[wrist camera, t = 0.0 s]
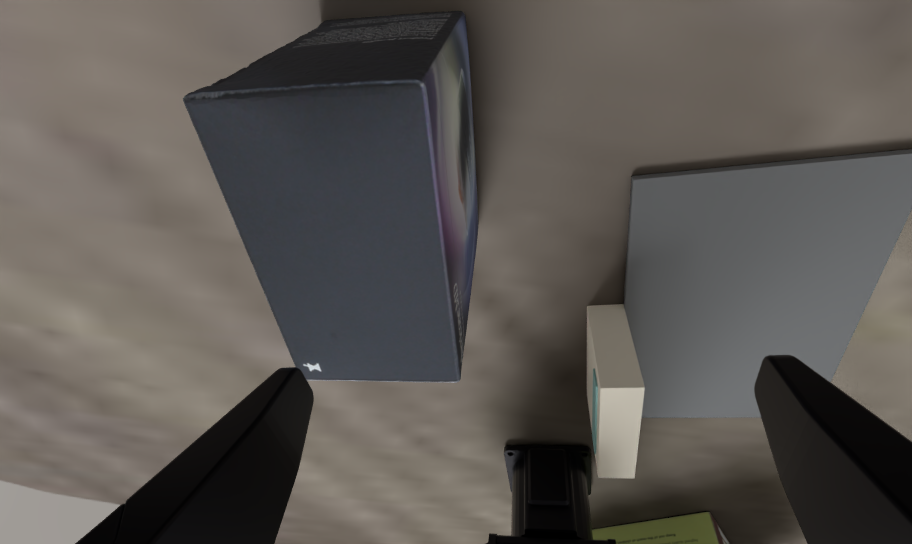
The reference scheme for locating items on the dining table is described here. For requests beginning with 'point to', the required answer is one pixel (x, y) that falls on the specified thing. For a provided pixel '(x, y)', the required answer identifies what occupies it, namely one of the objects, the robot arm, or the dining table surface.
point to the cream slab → (613, 391)
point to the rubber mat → (754, 271)
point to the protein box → (666, 531)
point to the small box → (356, 191)
